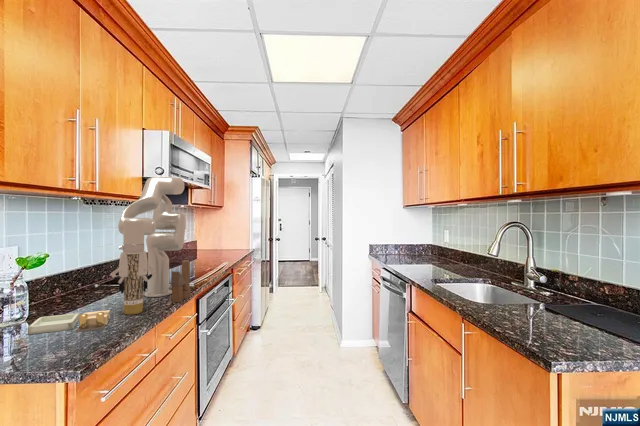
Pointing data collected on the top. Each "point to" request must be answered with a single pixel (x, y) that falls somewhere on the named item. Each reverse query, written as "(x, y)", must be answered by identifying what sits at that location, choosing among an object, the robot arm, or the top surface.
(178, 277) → the wooden block
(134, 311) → the paper tube
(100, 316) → the bench dogs
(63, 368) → the top surface
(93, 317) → the beige stepped block
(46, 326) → the tray
